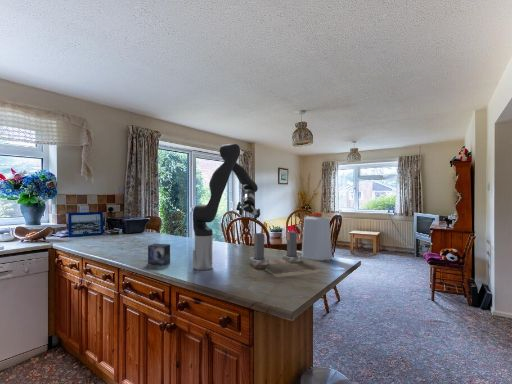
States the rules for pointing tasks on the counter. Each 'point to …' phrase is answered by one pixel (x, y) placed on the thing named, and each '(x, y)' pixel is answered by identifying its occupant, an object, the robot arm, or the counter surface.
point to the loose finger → (259, 246)
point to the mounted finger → (291, 244)
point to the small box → (159, 254)
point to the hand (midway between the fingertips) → (248, 216)
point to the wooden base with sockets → (273, 261)
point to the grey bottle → (316, 238)
